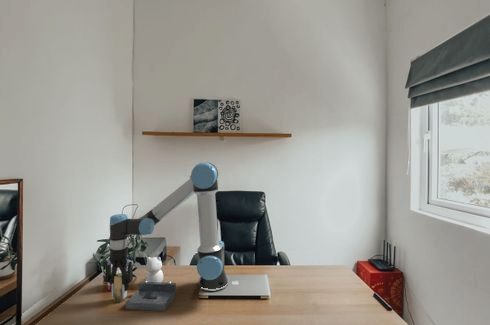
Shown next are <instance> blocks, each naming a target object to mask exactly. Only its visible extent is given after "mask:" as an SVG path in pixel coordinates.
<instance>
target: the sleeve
mask: <svg viewBox="0 0 490 325" xmlns="http://www.w3.org/2000/svg"><path fill="white" fill-rule="evenodd" d="M123 284H124V282H123V277H122V273H118V274H115V275H114V298H113V302H114V303H115V304H120V303H123V302H124V301H125V300H126V297H125V298H124V299H122V285H123Z"/></svg>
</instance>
